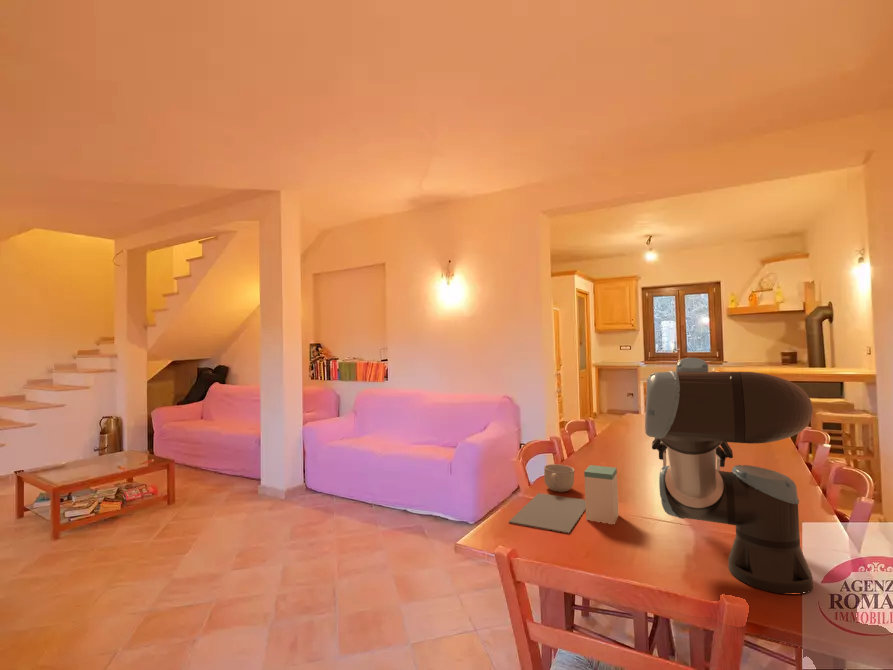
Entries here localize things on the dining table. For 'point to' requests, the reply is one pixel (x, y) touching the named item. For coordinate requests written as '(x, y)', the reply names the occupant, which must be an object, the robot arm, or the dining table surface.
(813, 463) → the dining table surface
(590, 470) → the green and white block
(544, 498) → the rubber mat
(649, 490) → the dining table surface
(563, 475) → the teacup
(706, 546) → the dining table surface
